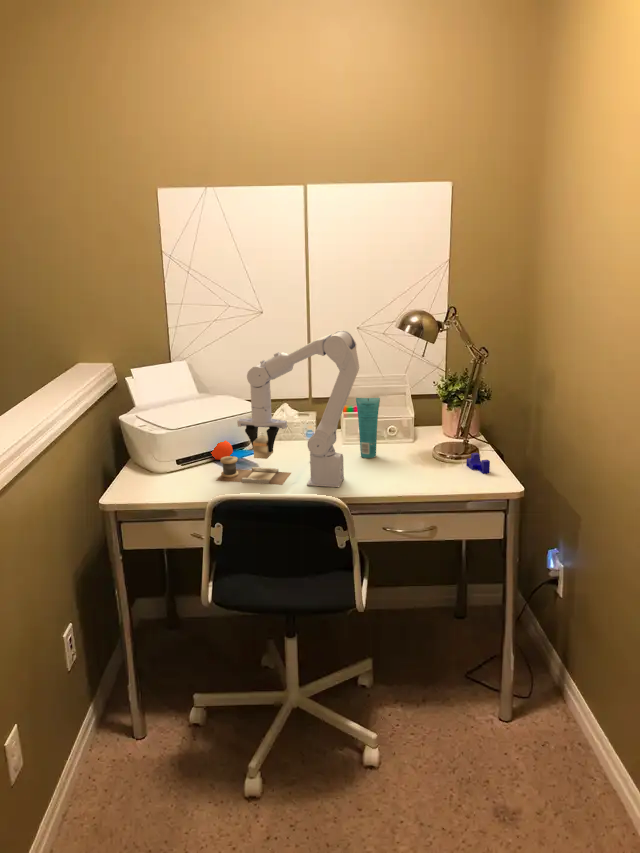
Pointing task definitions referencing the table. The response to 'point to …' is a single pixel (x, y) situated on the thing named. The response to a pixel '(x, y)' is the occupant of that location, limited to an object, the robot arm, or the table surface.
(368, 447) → the tube
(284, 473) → the brown rectangular board
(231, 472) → the spool
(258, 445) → the block
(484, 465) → the cable holder
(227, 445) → the clementine
